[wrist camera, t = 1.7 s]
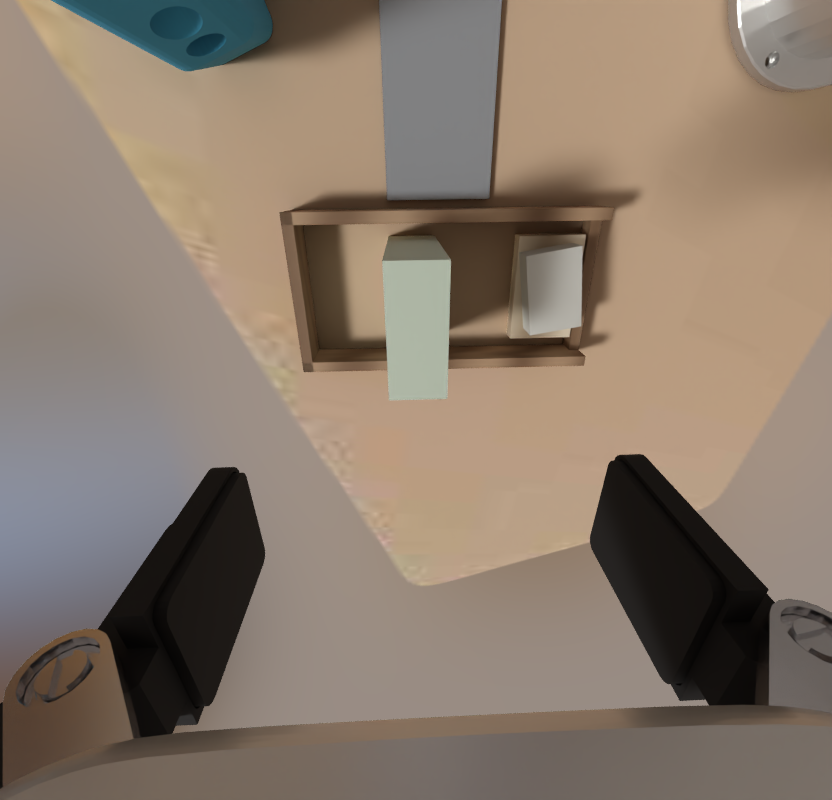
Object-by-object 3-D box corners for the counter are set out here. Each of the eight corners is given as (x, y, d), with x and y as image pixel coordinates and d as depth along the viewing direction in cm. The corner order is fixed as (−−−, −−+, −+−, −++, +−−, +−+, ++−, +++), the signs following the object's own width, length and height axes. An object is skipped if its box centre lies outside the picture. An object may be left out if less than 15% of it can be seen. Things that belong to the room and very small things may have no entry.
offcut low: (576, 232, 32) (586, 234, 30) (561, 329, 36) (569, 337, 34) (513, 233, 32) (519, 236, 30) (504, 331, 36) (510, 338, 34)
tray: (595, 205, 31) (614, 207, 28) (570, 352, 36) (583, 365, 33) (290, 210, 30) (279, 212, 27) (311, 358, 36) (303, 372, 33)
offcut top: (571, 242, 31) (582, 245, 29) (571, 319, 33) (581, 326, 32) (519, 252, 31) (526, 256, 29) (523, 327, 33) (530, 335, 32)
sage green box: (434, 235, 31) (451, 259, 21) (433, 334, 35) (447, 398, 24) (388, 236, 31) (382, 260, 21) (392, 335, 35) (389, 400, 24)
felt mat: (500, 0, 25) (502, -3, 25) (488, 198, 30) (489, 198, 30) (379, 0, 25) (379, -3, 25) (387, 199, 30) (387, 200, 30)
